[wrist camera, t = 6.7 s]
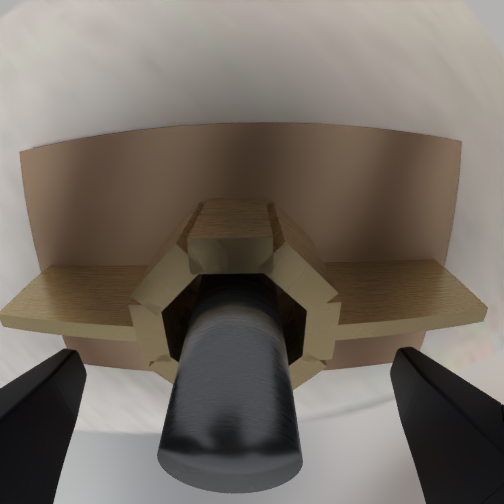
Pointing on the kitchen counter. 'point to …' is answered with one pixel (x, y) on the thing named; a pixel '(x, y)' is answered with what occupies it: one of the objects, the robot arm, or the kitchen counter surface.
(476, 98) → the kitchen counter surface
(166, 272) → the brass hinge
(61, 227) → the walnut board
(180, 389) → the hinge pin
